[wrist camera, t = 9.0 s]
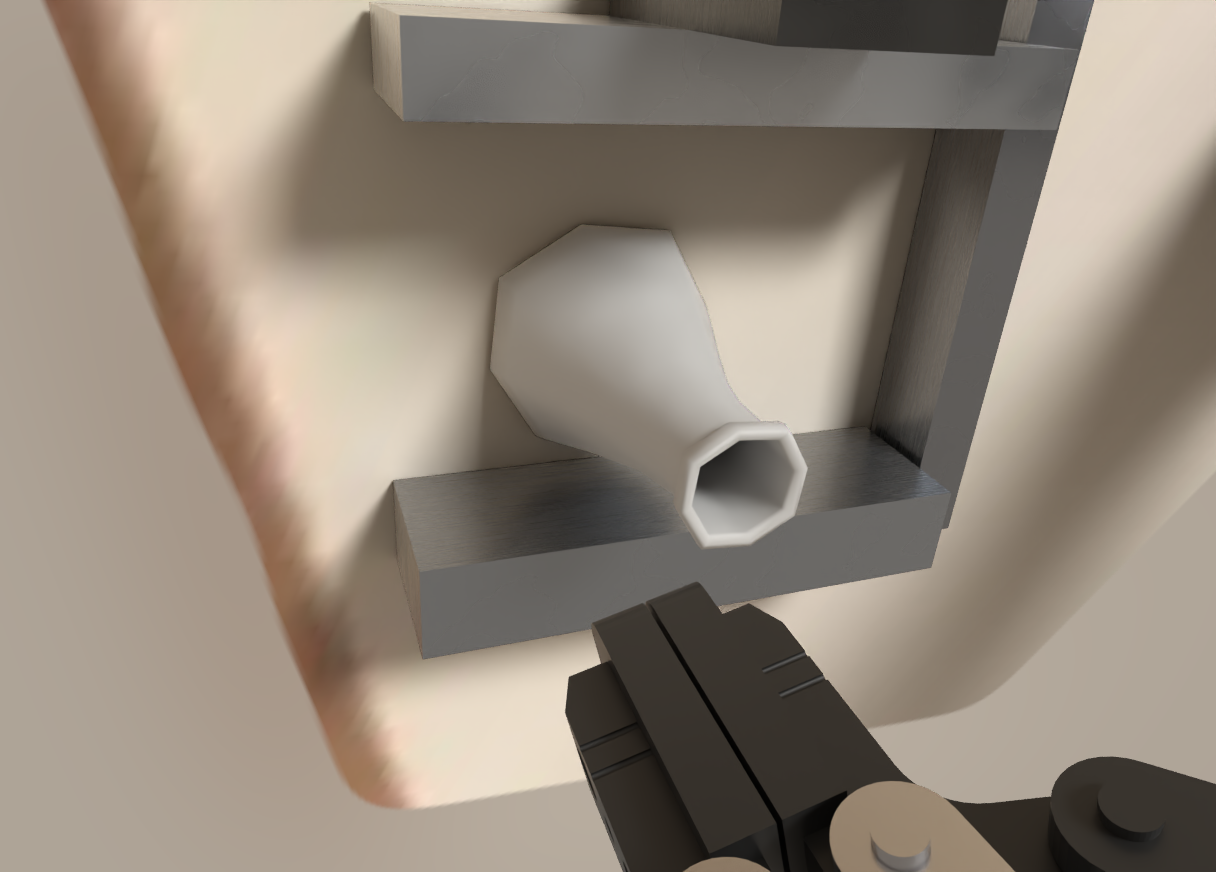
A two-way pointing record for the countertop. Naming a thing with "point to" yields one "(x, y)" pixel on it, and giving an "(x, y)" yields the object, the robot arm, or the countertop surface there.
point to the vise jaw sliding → (720, 65)
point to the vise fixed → (836, 459)
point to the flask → (641, 379)
